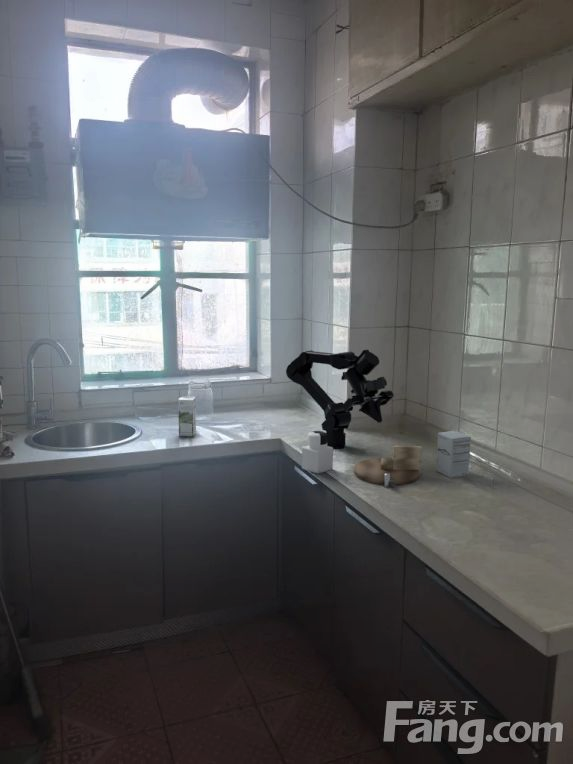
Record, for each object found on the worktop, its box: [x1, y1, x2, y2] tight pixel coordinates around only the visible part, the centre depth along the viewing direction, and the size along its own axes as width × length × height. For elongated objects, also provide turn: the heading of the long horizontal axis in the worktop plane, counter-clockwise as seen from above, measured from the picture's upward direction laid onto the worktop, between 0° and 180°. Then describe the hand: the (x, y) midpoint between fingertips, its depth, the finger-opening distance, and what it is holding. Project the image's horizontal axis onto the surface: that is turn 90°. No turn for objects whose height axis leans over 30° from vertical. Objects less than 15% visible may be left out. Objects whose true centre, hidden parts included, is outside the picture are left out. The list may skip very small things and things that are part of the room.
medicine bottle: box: [301, 430, 334, 475], centre depth 192 cm, size 7×7×12 cm
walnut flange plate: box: [353, 445, 423, 488], centre depth 187 cm, size 20×22×9 cm
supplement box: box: [435, 430, 472, 479], centre depth 189 cm, size 7×7×13 cm
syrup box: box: [177, 396, 197, 438], centre depth 229 cm, size 6×6×14 cm
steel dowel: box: [383, 473, 390, 489], centre depth 177 cm, size 2×2×4 cm
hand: (380, 422), depth 199 cm, fingers closed
